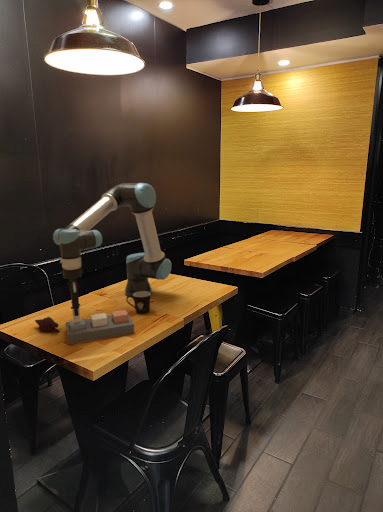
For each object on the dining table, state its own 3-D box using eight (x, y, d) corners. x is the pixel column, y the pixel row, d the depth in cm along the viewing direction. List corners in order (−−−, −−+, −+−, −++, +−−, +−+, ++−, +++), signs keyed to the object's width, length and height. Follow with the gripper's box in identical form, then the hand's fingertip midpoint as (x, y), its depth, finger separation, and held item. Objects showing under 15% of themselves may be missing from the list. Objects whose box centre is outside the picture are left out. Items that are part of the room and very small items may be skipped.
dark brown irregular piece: (26, 318, 161) (50, 328, 154) (39, 309, 167) (63, 318, 160) (30, 331, 164) (54, 341, 157) (43, 321, 170) (66, 330, 163)
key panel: (127, 322, 171) (127, 312, 170) (134, 335, 158) (133, 324, 157) (66, 332, 161) (65, 322, 160) (68, 346, 148) (67, 335, 147)
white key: (105, 321, 162) (104, 312, 161) (107, 326, 157) (106, 317, 156) (91, 323, 160) (90, 314, 159) (93, 328, 155) (92, 319, 154)
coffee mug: (155, 312, 183) (154, 293, 181) (143, 318, 176) (142, 298, 174) (137, 307, 189) (136, 289, 187) (125, 313, 182) (124, 294, 180)
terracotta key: (125, 318, 166) (125, 309, 165) (128, 323, 160) (127, 314, 159) (112, 320, 163) (111, 311, 163) (114, 325, 158) (114, 316, 157)
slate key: (84, 327, 160) (83, 318, 159) (86, 332, 154) (85, 323, 153) (70, 329, 157) (69, 320, 157) (71, 335, 152) (70, 326, 151)
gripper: (61, 265, 154) (66, 317, 159) (62, 272, 142) (68, 329, 148) (80, 263, 157) (84, 315, 162) (83, 270, 145) (87, 326, 150)
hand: (77, 321), depth 155 cm, fingers closed
